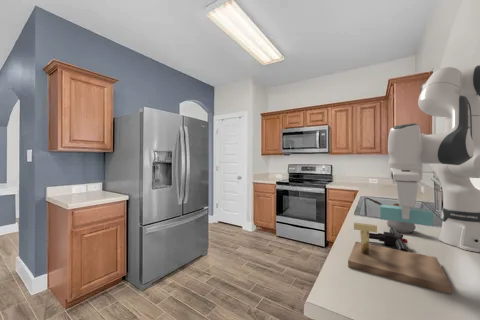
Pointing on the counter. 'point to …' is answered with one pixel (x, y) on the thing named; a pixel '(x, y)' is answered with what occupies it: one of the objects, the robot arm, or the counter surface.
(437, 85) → the robot arm
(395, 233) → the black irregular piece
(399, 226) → the coffee pot
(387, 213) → the cover
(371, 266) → the base
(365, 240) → the t key
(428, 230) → the counter surface
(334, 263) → the counter surface
